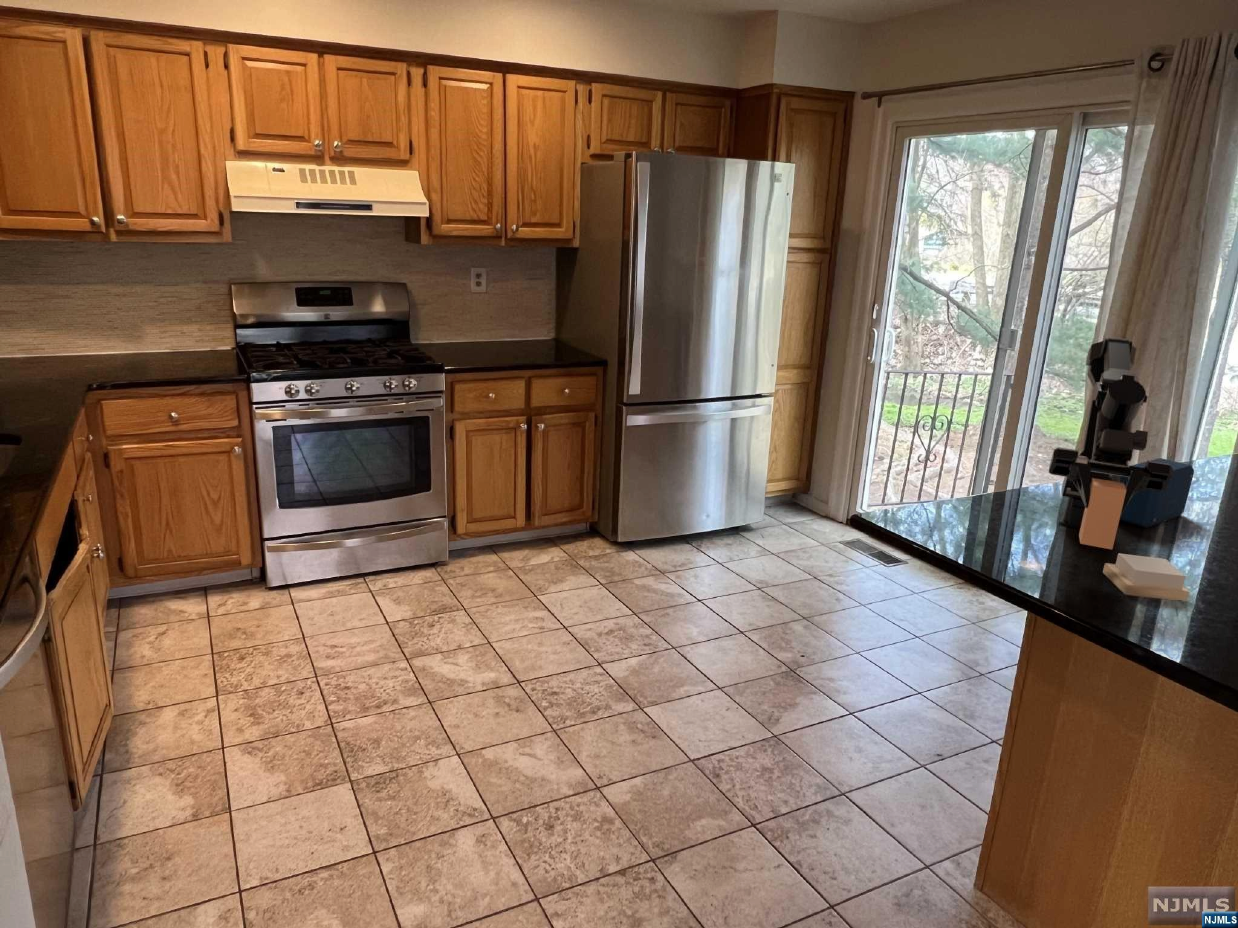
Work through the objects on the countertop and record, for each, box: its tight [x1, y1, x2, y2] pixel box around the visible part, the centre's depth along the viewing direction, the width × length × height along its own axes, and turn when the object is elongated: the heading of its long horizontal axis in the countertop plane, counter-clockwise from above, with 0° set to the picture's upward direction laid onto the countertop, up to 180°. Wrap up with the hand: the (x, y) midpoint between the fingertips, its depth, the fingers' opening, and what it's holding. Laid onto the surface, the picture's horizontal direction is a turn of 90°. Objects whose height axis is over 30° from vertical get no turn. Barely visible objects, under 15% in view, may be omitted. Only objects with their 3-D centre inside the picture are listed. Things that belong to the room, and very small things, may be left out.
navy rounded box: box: [1119, 429, 1195, 529], centre depth 188 cm, size 21×9×20 cm, turn 126°
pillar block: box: [1078, 478, 1126, 550], centre depth 150 cm, size 5×5×11 cm
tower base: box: [1102, 562, 1190, 602], centre depth 151 cm, size 10×10×2 cm
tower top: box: [1115, 553, 1187, 589], centre depth 150 cm, size 8×8×2 cm
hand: (1104, 509), depth 148 cm, fingers closed on pillar block, 5 cm apart
